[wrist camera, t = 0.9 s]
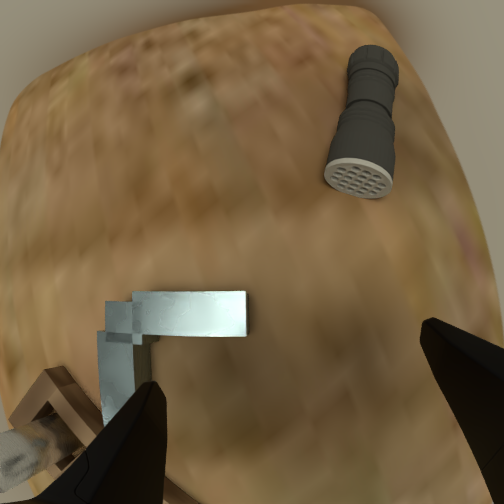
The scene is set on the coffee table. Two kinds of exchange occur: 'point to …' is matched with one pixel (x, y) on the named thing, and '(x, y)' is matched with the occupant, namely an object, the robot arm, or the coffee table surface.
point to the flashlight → (366, 127)
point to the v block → (158, 323)
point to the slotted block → (72, 419)
